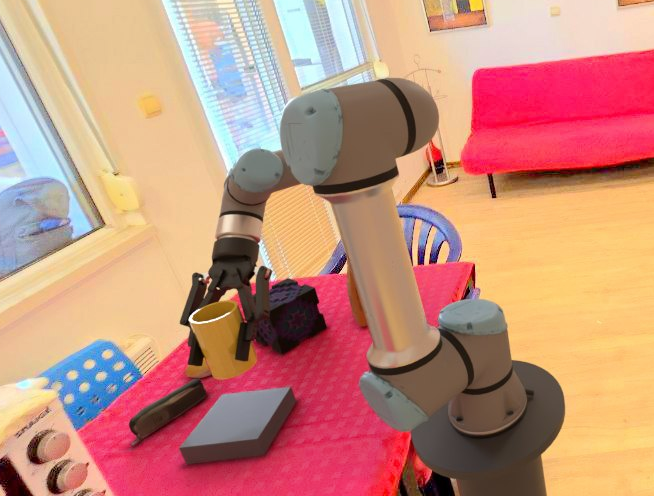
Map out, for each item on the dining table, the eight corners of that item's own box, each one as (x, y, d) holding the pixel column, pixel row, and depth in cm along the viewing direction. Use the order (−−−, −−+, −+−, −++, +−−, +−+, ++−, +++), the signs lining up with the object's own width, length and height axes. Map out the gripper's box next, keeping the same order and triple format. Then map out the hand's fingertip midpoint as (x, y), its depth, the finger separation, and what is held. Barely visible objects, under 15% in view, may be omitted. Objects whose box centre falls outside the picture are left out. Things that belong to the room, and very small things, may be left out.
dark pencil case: (194, 375, 112) (115, 424, 99) (203, 377, 111) (125, 427, 98) (201, 394, 114) (125, 444, 101) (211, 396, 113) (134, 448, 100)
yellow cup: (264, 351, 101) (245, 298, 96) (245, 377, 94) (223, 321, 89) (225, 355, 100) (204, 302, 96) (203, 381, 94) (179, 325, 89)
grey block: (296, 401, 109) (291, 386, 107) (264, 455, 96) (257, 438, 94) (228, 409, 108) (221, 394, 107) (186, 464, 95) (178, 448, 94)
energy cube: (282, 354, 125) (267, 312, 120) (255, 341, 131) (240, 300, 127) (327, 328, 134) (314, 287, 130) (300, 317, 140) (287, 278, 136)
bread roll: (184, 384, 117) (177, 370, 116) (194, 361, 125) (188, 348, 124) (225, 373, 120) (220, 358, 118) (233, 351, 128) (228, 337, 126)
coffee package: (389, 297, 146) (372, 226, 138) (396, 318, 136) (378, 242, 127) (352, 308, 142) (332, 235, 134) (356, 331, 132) (334, 253, 124)
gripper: (299, 243, 105) (287, 359, 96) (197, 253, 105) (174, 371, 96) (280, 230, 99) (264, 353, 90) (170, 240, 98) (143, 366, 89)
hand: (218, 362), depth 93 cm, fingers closed on yellow cup, 7 cm apart
